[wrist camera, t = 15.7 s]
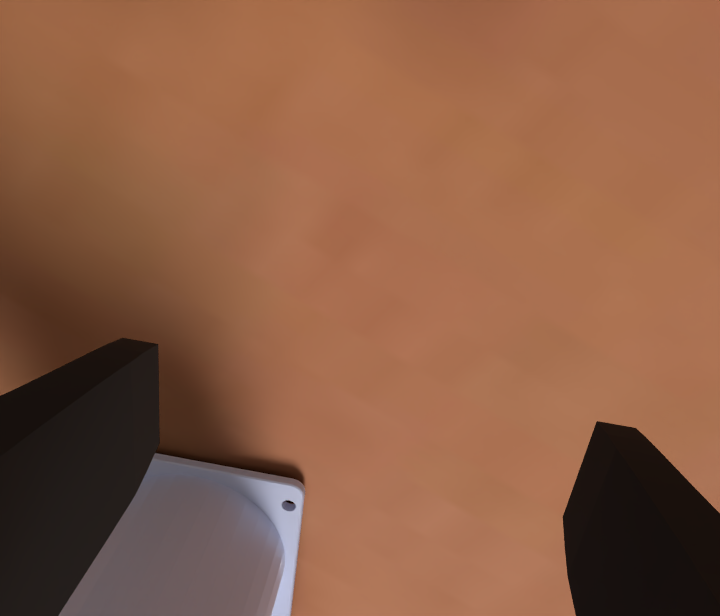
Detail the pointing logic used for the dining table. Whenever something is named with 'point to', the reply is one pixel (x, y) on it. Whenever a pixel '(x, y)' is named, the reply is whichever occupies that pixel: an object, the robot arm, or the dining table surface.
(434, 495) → the dining table surface
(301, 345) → the dining table surface
